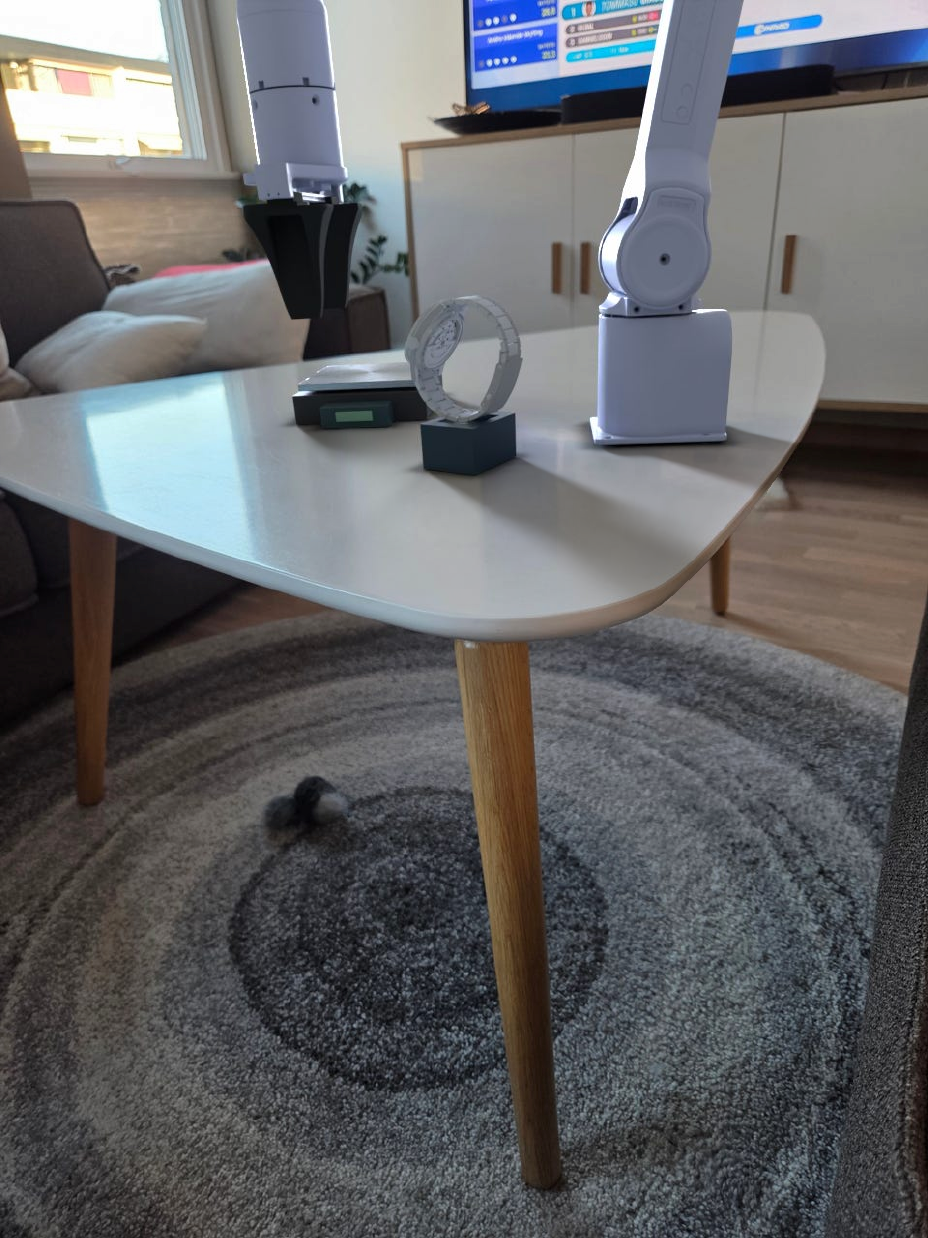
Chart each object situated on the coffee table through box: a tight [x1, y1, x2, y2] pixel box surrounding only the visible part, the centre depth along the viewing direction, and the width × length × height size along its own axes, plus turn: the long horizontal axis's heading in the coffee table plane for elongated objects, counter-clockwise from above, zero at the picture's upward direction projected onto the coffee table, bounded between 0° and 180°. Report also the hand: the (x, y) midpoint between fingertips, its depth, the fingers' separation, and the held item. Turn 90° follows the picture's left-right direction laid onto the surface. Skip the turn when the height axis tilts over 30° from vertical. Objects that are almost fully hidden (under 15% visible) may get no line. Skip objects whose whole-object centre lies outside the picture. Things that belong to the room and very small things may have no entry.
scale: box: [291, 373, 444, 430], centre depth 77 cm, size 12×14×2 cm
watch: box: [404, 295, 523, 476], centre depth 56 cm, size 6×8×11 cm
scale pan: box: [297, 361, 416, 392], centre depth 77 cm, size 11×11×1 cm
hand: (320, 313), depth 60 cm, fingers open, 7 cm apart
